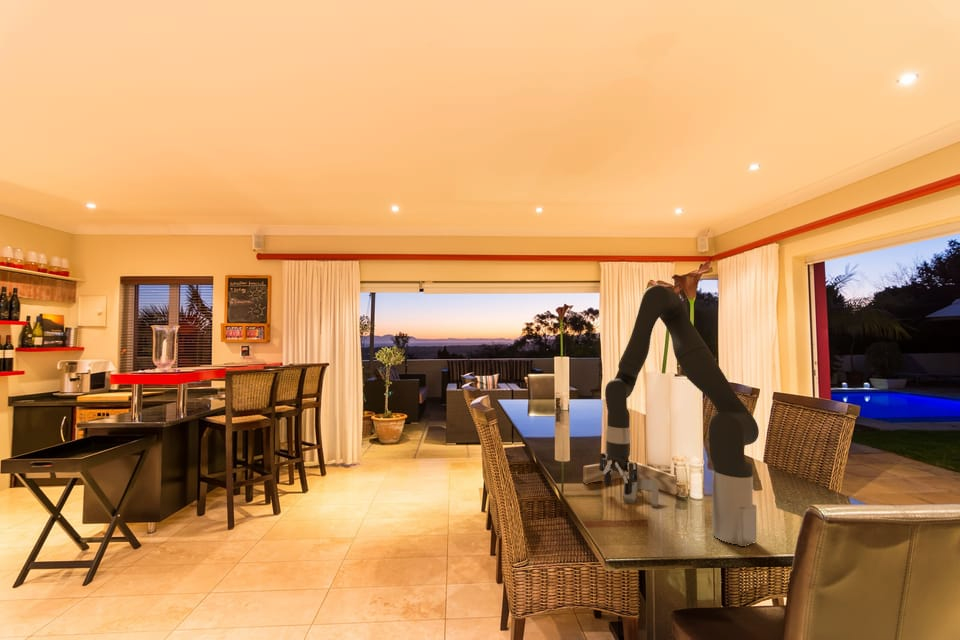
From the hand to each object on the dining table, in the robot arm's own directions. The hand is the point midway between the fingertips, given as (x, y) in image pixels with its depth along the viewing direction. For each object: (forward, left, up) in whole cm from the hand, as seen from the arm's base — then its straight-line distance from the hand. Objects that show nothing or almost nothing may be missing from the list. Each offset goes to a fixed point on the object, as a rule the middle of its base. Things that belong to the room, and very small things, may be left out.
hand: (617, 489), depth 142 cm
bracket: (-2, -9, -3) cm, 9 cm away
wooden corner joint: (+6, -11, -3) cm, 12 cm away
